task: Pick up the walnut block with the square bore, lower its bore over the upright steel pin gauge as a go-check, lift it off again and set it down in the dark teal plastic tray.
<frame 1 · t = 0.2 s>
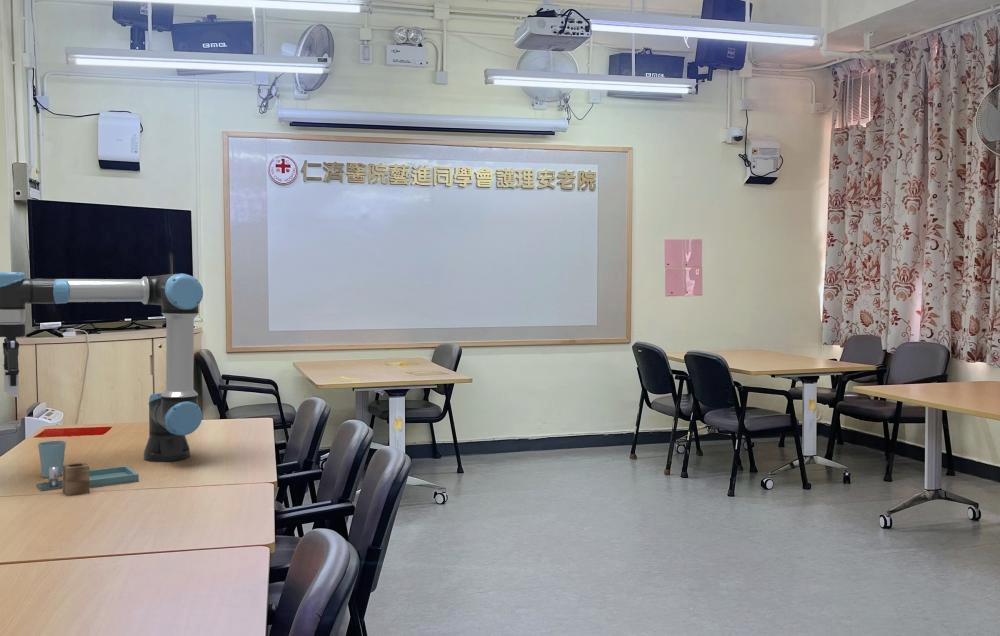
hand: (11, 394, 241), 28 cm above the table, fingers open, 13 cm apart
gauge post: (53, 486, 242), on the table
bored block: (76, 492, 236), on the table
tray: (108, 480, 250), on the table
cup: (52, 476, 255), on the table
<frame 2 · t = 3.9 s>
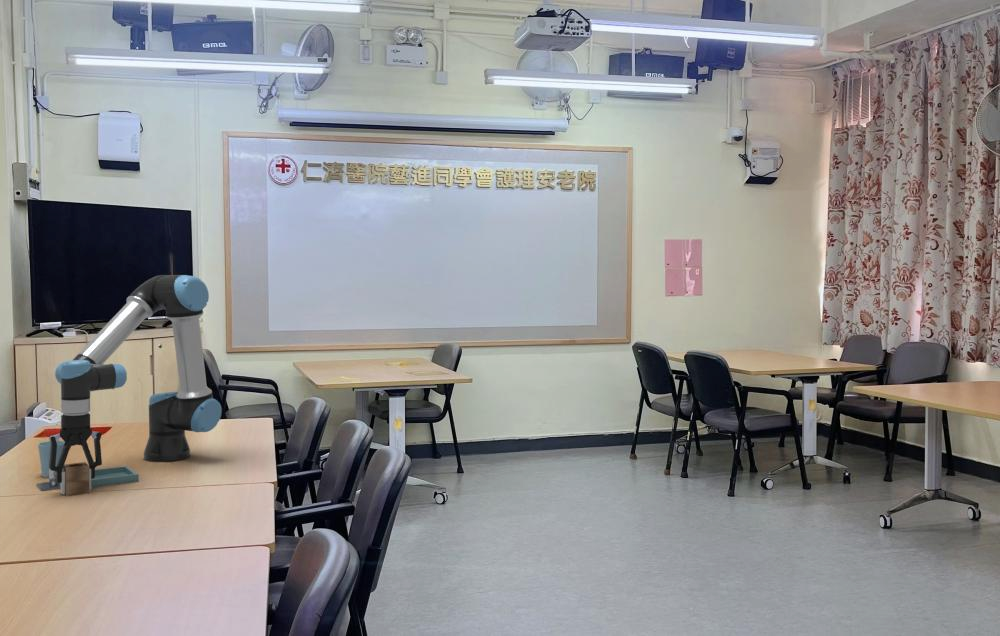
hand: (75, 491, 235), 0 cm above the table, fingers closed on bored block, 6 cm apart
bored block: (76, 492, 236), on the table, touching gripper
everything else where it was.
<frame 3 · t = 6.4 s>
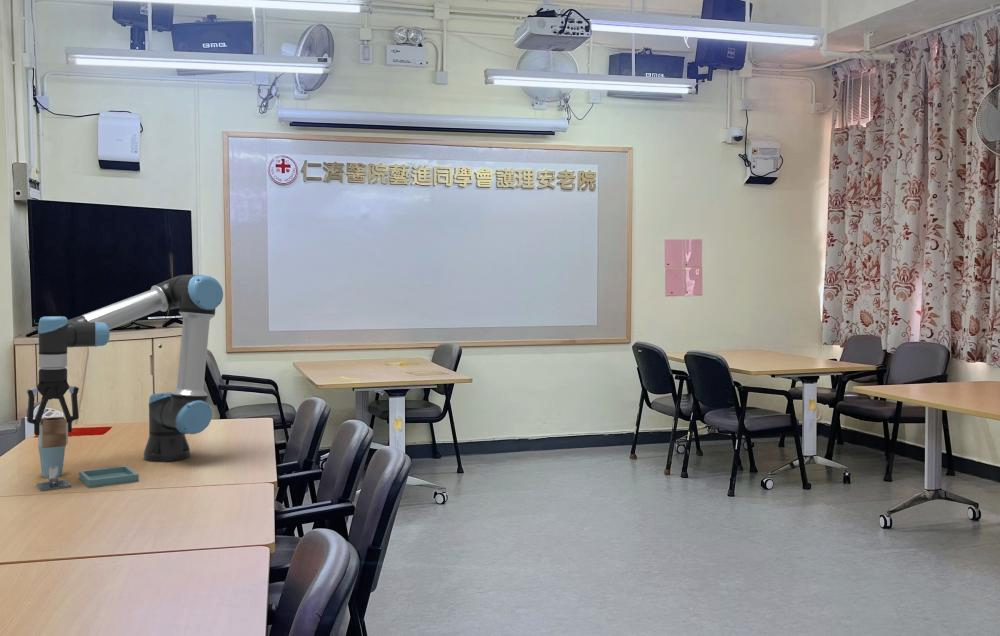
hand: (53, 444, 241), 13 cm above the table, fingers closed on bored block, 6 cm apart
bored block: (53, 445, 241), point 12 cm above the table, touching gripper
everything else where it was.
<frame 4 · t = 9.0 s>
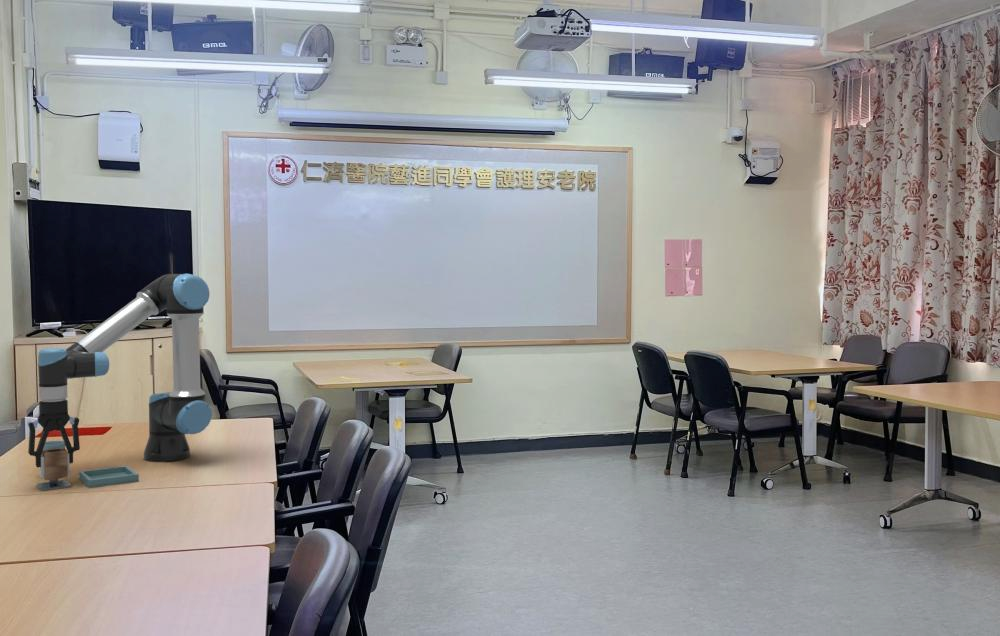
hand: (54, 475, 242), 3 cm above the table, fingers closed on bored block, 6 cm apart
bored block: (54, 476, 242), point 3 cm above the table, touching gripper
everything else where it was.
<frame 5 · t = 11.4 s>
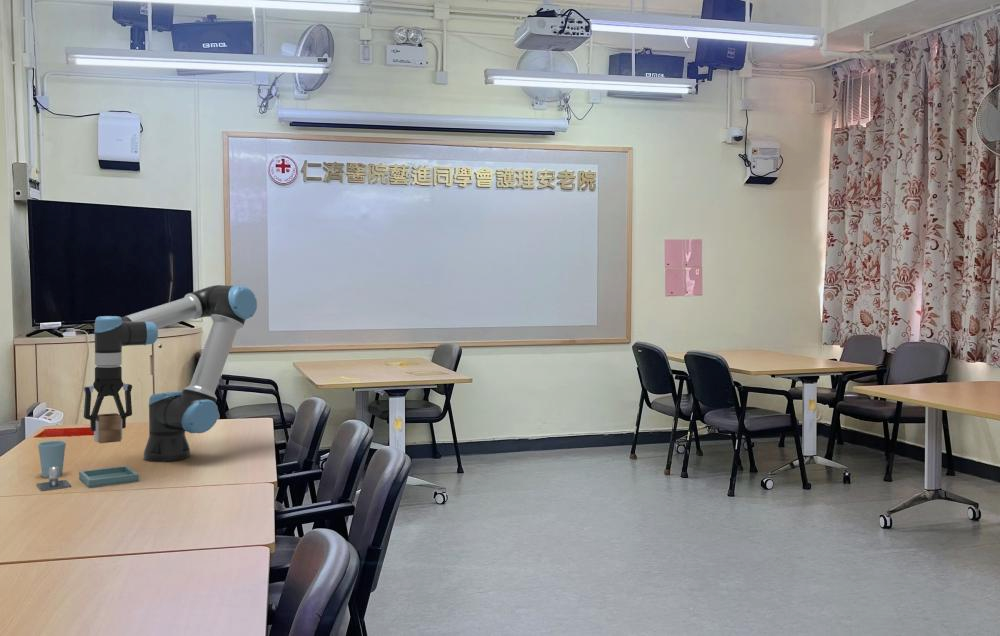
hand: (108, 439, 250), 13 cm above the table, fingers closed on bored block, 6 cm apart
bored block: (108, 440, 250), point 12 cm above the table, touching gripper
everything else where it was.
when the fingers open (2 cm above the table, at t = 13.5 s): bored block stays where it is, resting on tray.
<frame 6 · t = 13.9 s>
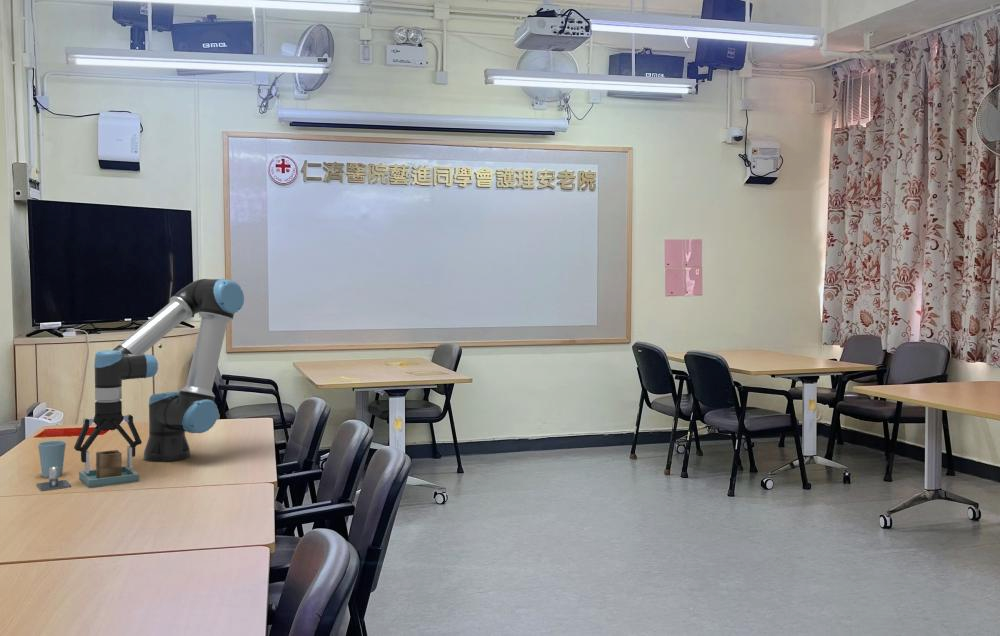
hand: (108, 469, 250), 3 cm above the table, fingers open, 11 cm apart
bored block: (108, 478, 250), point 1 cm above the table, touching tray
everything else where it was.
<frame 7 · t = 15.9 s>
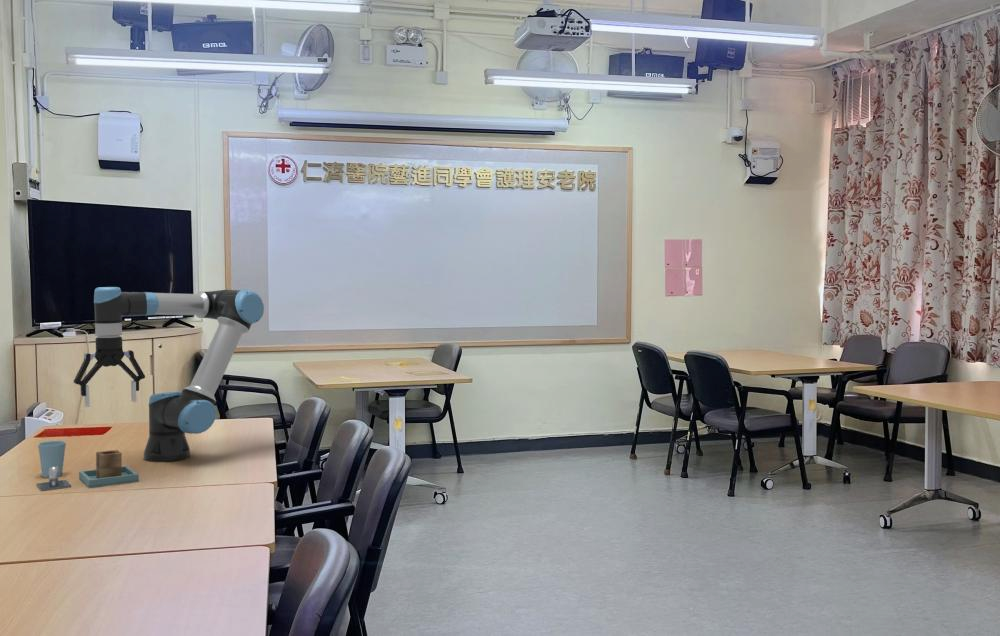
hand: (110, 403, 252), 23 cm above the table, fingers open, 13 cm apart
nothing on the table moved.
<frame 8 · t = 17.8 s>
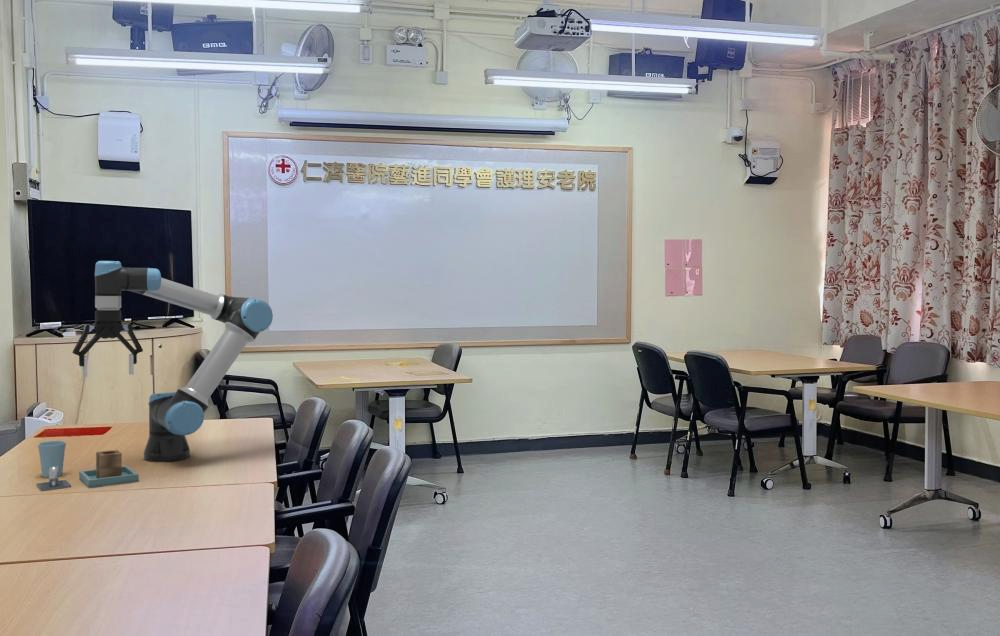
hand: (108, 375, 257), 32 cm above the table, fingers open, 13 cm apart
nothing on the table moved.
at the end: bored block inside the target area on the tray (0.1 cm from its centre), point 0.6 cm above the tray's base; bored block tilted 0°; the gripper is holding nothing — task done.
